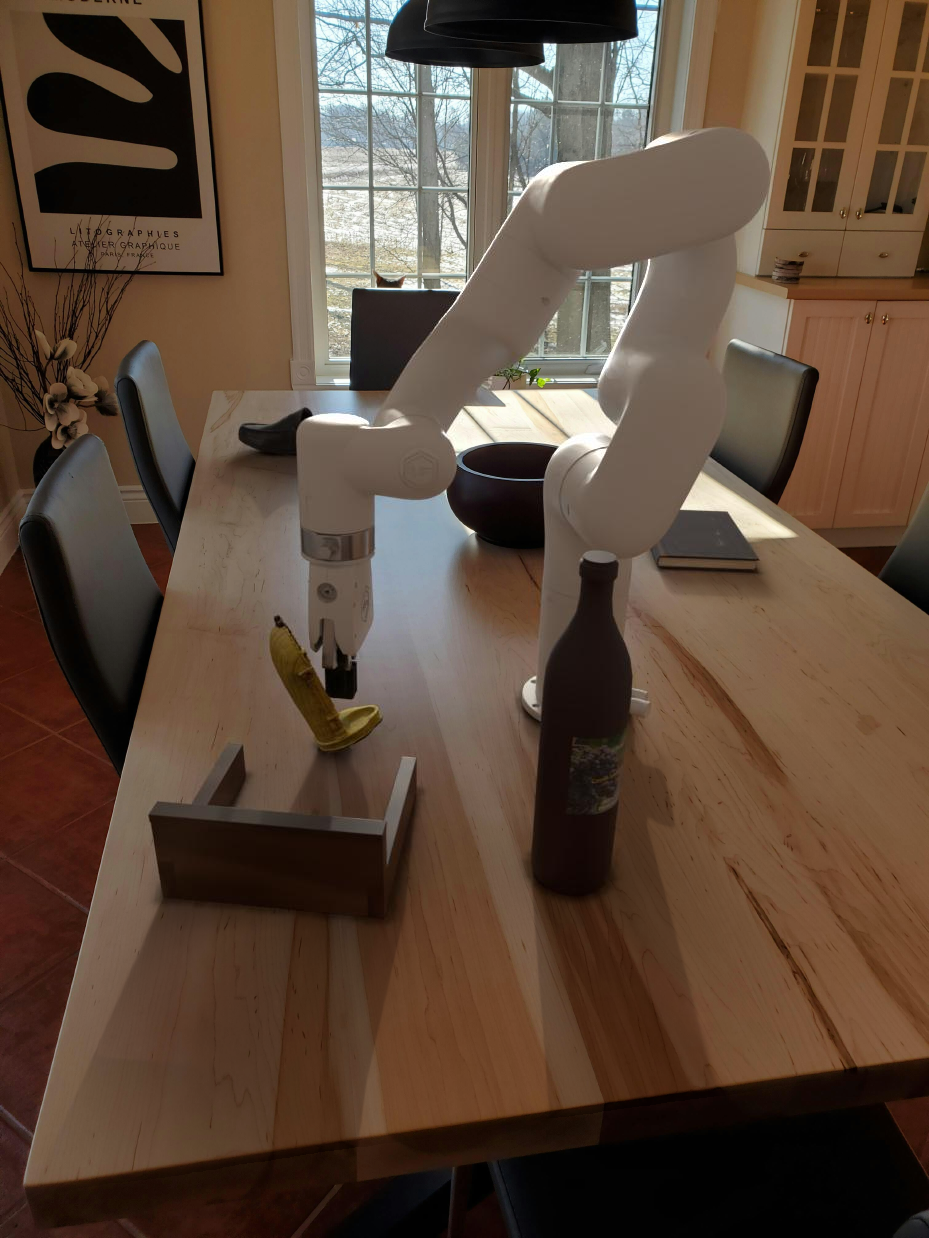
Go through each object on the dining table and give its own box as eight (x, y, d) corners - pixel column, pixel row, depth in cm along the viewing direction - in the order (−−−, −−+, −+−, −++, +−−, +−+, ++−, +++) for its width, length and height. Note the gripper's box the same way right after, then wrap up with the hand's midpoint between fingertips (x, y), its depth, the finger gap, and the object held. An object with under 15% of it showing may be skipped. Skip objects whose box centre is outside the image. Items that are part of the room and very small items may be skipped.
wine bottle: (554, 906, 76) (582, 580, 63) (516, 854, 82) (535, 546, 68) (625, 884, 78) (667, 567, 65) (584, 835, 84) (614, 535, 71)
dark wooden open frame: (232, 775, 91) (224, 700, 88) (416, 790, 90) (416, 715, 86) (161, 898, 76) (147, 814, 72) (384, 919, 74) (382, 835, 70)
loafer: (248, 443, 206) (244, 398, 201) (372, 450, 202) (371, 405, 198) (231, 455, 196) (227, 408, 192) (361, 463, 193) (359, 415, 189)
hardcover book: (725, 523, 164) (727, 511, 163) (757, 572, 143) (759, 559, 142) (637, 520, 164) (639, 508, 163) (656, 568, 144) (658, 555, 143)
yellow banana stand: (267, 762, 94) (256, 634, 87) (286, 720, 101) (277, 599, 94) (377, 768, 93) (374, 640, 87) (387, 725, 100) (386, 604, 94)
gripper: (357, 570, 84) (359, 735, 92) (388, 518, 98) (388, 666, 106) (279, 563, 85) (288, 727, 93) (321, 513, 98) (325, 660, 106)
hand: (341, 694), depth 99 cm, fingers closed
